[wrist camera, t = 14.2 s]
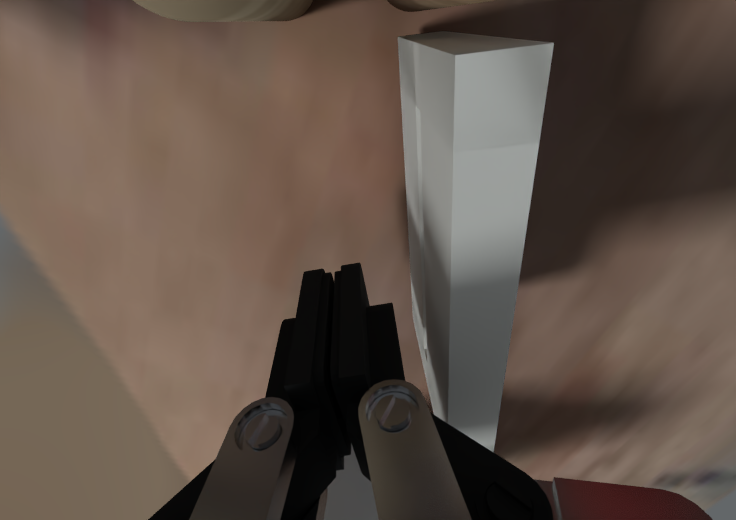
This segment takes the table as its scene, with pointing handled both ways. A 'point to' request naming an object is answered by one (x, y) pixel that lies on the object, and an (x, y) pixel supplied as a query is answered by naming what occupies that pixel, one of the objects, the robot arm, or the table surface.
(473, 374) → the gate
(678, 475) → the table surface
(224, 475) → the robot arm
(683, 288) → the table surface
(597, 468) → the table surface
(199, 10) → the fence
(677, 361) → the table surface
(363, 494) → the milk bottle
